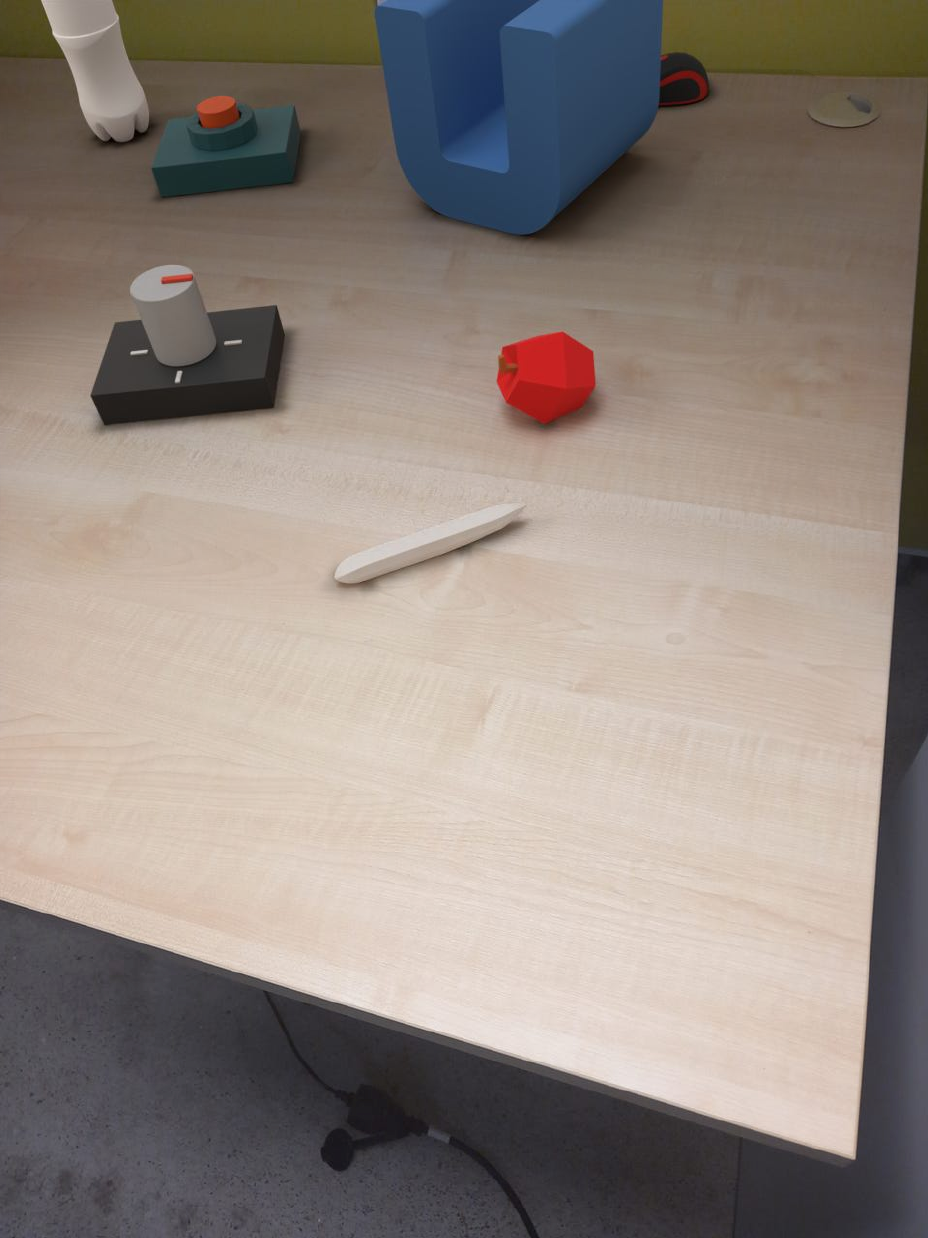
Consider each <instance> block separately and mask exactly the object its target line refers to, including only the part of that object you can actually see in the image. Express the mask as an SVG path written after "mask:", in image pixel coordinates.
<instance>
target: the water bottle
mask: <svg viewBox="0 0 928 1238" xmlns="http://www.w3.org/2000/svg"><path fill="white" fill-rule="evenodd" d="M40 1H41V4H42V6H43V8H44V9H43V10H44V11H45V14H46V16H47V19H48V22H49V25H50V27H51V30H52V32H51V33H52V36H53V37H54V39H55V40H56V42H57V43H58V46H59V47H60V49H61V51H62V52H63V54H64V57H65V58H66V60H67V63H68V66H69V68H70V71H71V73H72V74H71V75H72V77H73V80H74V83H75V88H76V91H77V95H78V100H79V107H80V109H81V111H82V114H83V116H84V118H85V121H86V123H87V125H88V126H89V128H90V129H91V131H92V132H93V133H94V134H95V135H96V136H97V137H98V138H99V139H100V140H101V141H103V142H108V141H110V140H111V138H112V139H113V140H114V141H115V142H118V143H126V142H129V141H131V140H132V139H134V135H135V131H137V133H140V134H142V133H145V132H146V131H147V130H148V127H149V123H150V110H149V105H148V101H147V98H146V94H145V91H144V88H143V86H142V85H141V83H140V81H139V79H138V77H137V75H136V74H135V71H134V68H133V67H132V64H131V62H130V60H129V59H130V58H129V57H128V54H127V51H126V48H125V44H124V40H123V39H124V38H123V36H122V35H123V34H122V31H121V26H120V17H119V15H118V13H117V11H116V8H115V5H114V2H113V0H40Z"/></svg>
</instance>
